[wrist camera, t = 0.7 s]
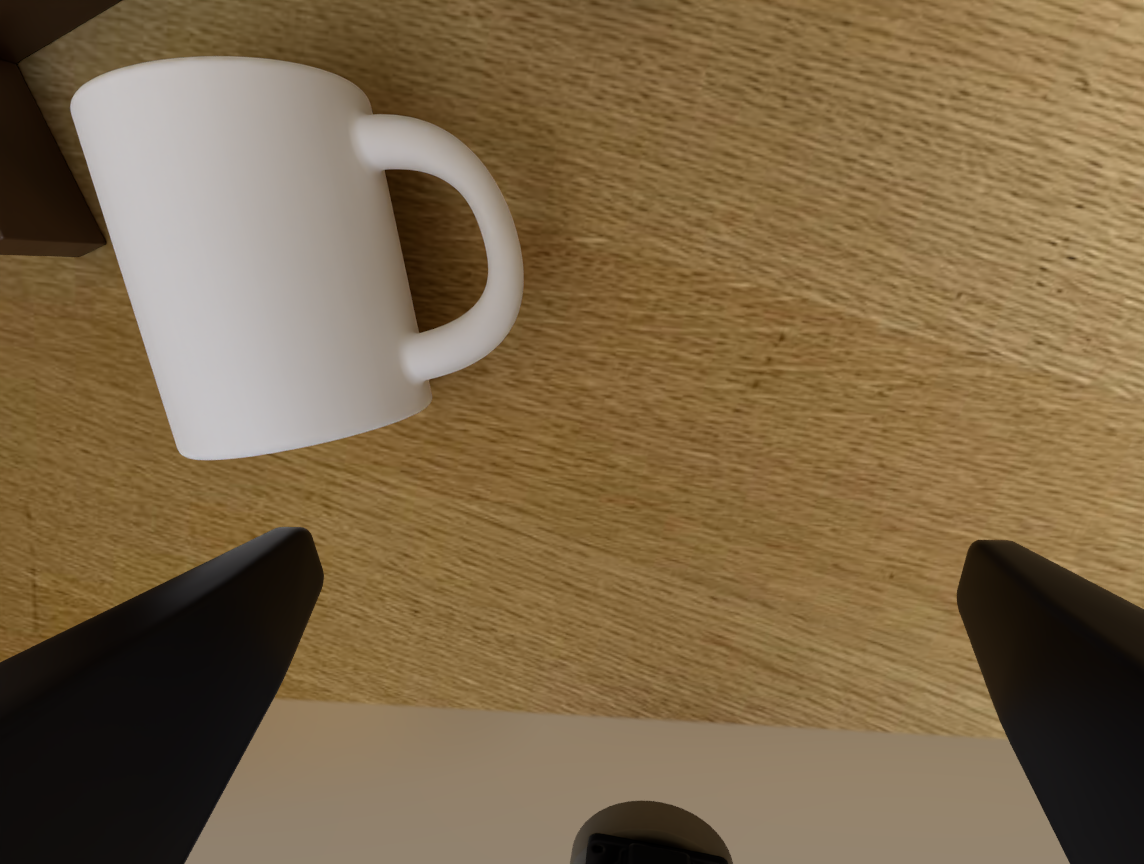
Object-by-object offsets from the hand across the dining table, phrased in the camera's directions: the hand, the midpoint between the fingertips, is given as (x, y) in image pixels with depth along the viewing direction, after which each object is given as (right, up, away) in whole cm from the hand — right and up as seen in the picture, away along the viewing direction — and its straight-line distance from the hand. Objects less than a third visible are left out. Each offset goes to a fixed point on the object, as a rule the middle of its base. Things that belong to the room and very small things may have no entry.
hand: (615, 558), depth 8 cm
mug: (-8, +8, +15) cm, 18 cm away
